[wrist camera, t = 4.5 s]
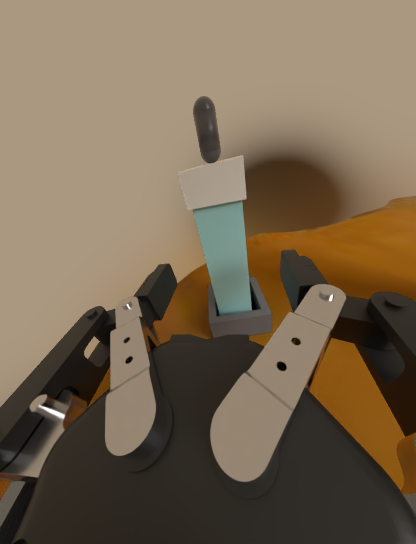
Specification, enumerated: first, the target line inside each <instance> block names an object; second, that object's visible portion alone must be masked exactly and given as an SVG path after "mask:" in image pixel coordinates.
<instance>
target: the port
mask: <svg viewBox="0 0 416 544" xmlns="http://www.w3.org/2000/svg"><path fill="white" fill-rule="evenodd" d="M36 483H37V482H24V481H16V482H11V484H10V486H9V487H8V489H7V491H6V492H5V494H4V496H3V497H2V499H1V500H0V544H12V542H13V539H14V537H15V535H16V533H17V531H18V529H19V527H20V525H21V522H22V520H23V517H24V515H25V513H26V510H27V508H28V505H29V503H30V500H31V497H32V495H33V492H34V489H35V486H36Z"/></svg>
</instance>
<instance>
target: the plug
mask: <svg viewBox="0 0 416 544" xmlns="http://www.w3.org/2000/svg"><path fill="white" fill-rule="evenodd" d="M193 115H194V121H195V126H196V131H197V136H198V142H199V147H200V152H201V156H202V158H203V160H204V161H205V162H207V163H210V164H206V165H203V166H199V167H195V168H191V169H188V170H184V171H181V172H178V173H177V174H178V177H179V181H180V185H181V188H182V192H183V195H184V199H185V203H186V207H187V210H192V209H193V213H194V217H195V221H196V225H197V229H198V232H199V236H200V240H201V244H202V248H203V252H204V256H205V260H206V264H207V267H208V271H209V275H210V279H211V283H212V287H213V291H214V295H215V298H216V302H217V306H218V310H219V314H220V316H223V315H229V314H235V313H241V312H247V311H252V306H251V295H250V284H249V273H248V262H247V251H246V240H245V231H244V230H245V229H244V218H243V207H242V200H243V199H246V186H245V173H244V160H243V156H242V155H241V156H238V157H234V158H229V159H226V160H222V161H218V162H216V161H217V160H218V158H219V157H220V153H221V149H220V141H219V134H218V127H217V120H216V112H215V106H214V103H213V102H212V100H211V99H210V98H208V97H206V96H202V97H200V98H198V99H197V100H196V102H195V104H194V108H193Z"/></svg>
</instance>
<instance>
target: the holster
mask: <svg viewBox="0 0 416 544" xmlns="http://www.w3.org/2000/svg"><path fill="white" fill-rule="evenodd" d="M249 284H250V295H251V298H252V300H253V303H254V306H255V308H256V310H253V311H247V312H241V313H235V314H229V315H223V316H219V311H218V306H217V302H216V298H215V295H214V291H213V287H212V285H208V309H209V325H210V328H211V331H212V335H213V338H216V337H220V336H224V335H228V334H249V336H250V335H256V334H263V333H269V332H272V312H271V310H270V308H269V306H268V304H267V302H266V299H265V297H264V295H263V293H262V291H261V289H260V286H259V284H258V282H257V280H256V278H255V277H249Z"/></svg>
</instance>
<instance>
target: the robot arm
mask: <svg viewBox="0 0 416 544" xmlns="http://www.w3.org/2000/svg"><path fill="white" fill-rule="evenodd" d="M280 274H281V279H282V282H283V285H284V288H285V290H286V293H287V296H288V299H289V301H290V304H291V307H292V310H293V312H292V311H290V312H289V313H288V314H287V316H286V317H285V319H284V320H283V322H282V323H281V324H280V326H279V327H278V329H277V330H276V332H275V333H274V334H273V336H272V337H271V339H270V340H269V342H268V343H267V345H266V346H265V347H264V346H262V345H260V344H257V343H255V342H252V341H249V334H228V335H224V336H220V337H216V338H211V339H204V338H200V337H196V336H193V335H172V336H171V339H170V341H168V342H165V343H163V344H160V341H159V338H158V335H157V332H156V329H155V326H154V324H153V322H154V321H157V320H162V318H163V316H164V313H165V311H166V309H167V307H168V305H169V302H170V300H171V298H172V296H173V293H174V291H175V289H176V287H177V280H176V278H175V275H174V273H173V270H172V268H171V266H170V264H160V265H158V266H157V268H156V269H155V271H154V272H152V273H151V274H150V275H149V276H148V277H147V278H146V280H145V281H144V282H143V285H141V287H140V288H139V289H138V291H137V292H136V293H135V295H134V296H133V297H128V298H126V299H124V300H122V301H121V302H120V303H119V304H118V305H117V306H116V309H113V310H109V311H106V310H105V309H104V308H103V307H102V306H97V307H94V308H92V309H90V310H89V311H87V312H86V313H85V314H84V315H83V316H82V317H81V318H80V319H79V320H78V321H77V322H76V323H75V325H74V326H73V327H72V328H71V329H70V330H69V331H68V332H67V334H66V335H65V336H64V337H63V338H62V339H61V340H60V341H59V342H58V344H57V345H56V346H55V347H54V348H53V349H52V350H51V351H50V353H49V354H48V355H47V356H46V357H45V358H44V359H43V360H42V361H41V363H40V364H39V365H38V366H37V367H36V368H35V369H34V370H33V372H32V373H31V374H30V375H29V376H28V377H27V378H26V380H25V381H24V382H23V383H22V384H21V385H20V386H19V387H18V388H17V389H16V391H15V392H14V393H13V394H12V395H11V396H10V397H9V398H8V400H7V401H6V402H5V403H4V404H3V405H2V406H1V407H0V481H8V482H16V481H24V482H37V483H36V486H35V489H34V492H33V495H32V497H31V500H30V503H29V505H28V508H27V510H26V513H25V515H24V517H23V520H22V522H21V525H20V527H19V529H18V531H17V533H16V535H15V537H14V539H13V542H12V544H416V302H415V301H414V300H412V299H410V298H408V297H406V296H403V295H400V294H397V293H392V292H377V293H374V294H373V295H372V296H371V298H370V300H369V299H362V298H355V297H349V296H346V295H345V293H344V292H343V291H342V290H340V289H339V288H337V287H335V286H332V285H329V284H328V283H327V281H326V280H325V279H324V277H323V276H322V274H321V273H320V272H319V270H318V269H317V267H316V266H315V265H314V263H313V262H312V260H311V259H309V258H307V257H305V256H299V255H298V254H297V252H296V251H295V249H292V250H283V251H281V266H280ZM94 336H95V337H96V338H97V339H98V340H99V341H100V342H99V343H98V345H97V347H96V348H95V350H94V351H93V352H92V354H91V355H90V357H89V358H88V359H87V358H85V356H84V350H85V348H86V346H87V345H88V343H89V342H90V341H91V339H92V338H93V337H94ZM331 338H335V339H339V340H343V341H347V342H351V343H354V344H355V346H356V347H357V349H358V351H359V353H360V355H361V357H362V358H363V360H364V362H365V364H366V366H367V367H368V369H369V371H370V373H371V375H372V377H373V378H374V380H375V382H376V384H377V386H378V388H379V389H380V391H381V393H382V395H383V397H384V398H385V400H386V402H387V404H388V406H389V408H390V409H391V411H392V413H393V415H394V417H395V418H396V420H397V422H398V424H399V426H400V428H401V429H402V431H403V433H404V435H405V438H403V439H401V440H400V441H399V443H398V445H397V455H398V459H399V462H400V464H401V467H402V470H403V474H404V487H403V489H402V491H400V489H399V488H398V487H397V485H396V484H395V483H394V481H393V480H392V479H391V478H390V476H389V475H388V474H387V473H386V472H385V470H384V469H383V468H382V467H381V466H380V465H379V464H378V463H377V462H376V461H375V460H374V459H373V458H372V457H371V456H370V454H369V453H368V452H367V451H366V450H365V449H364V448H363V447H362V446H361V445H360V444H359V443H358V442H357V441H356V440H355V439H354V438H353V437H352V436H351V435H350V433H349V432H348V431H347V430H346V429H345V428H344V427H343V426H342V425H341V424H340V423H339V422H338V421H337V420H336V419H335V418H334V417H333V416H332V415H331V414H330V412H329V411H328V410H327V409H326V408H325V407H324V406H323V405H322V404H321V403H320V402H319V401H318V400H317V399H316V398H315V397H314V396H313V395H312V394H311V392H310V391H309V390H310V388H311V385H312V383H313V381H314V378H315V376H316V373H317V371H318V368H319V366H320V364H321V361H322V359H323V357H324V354H325V352H326V350H327V348H328V345H329V343H330V341H331ZM110 365H111V388H109V389H108V390H107V391H106V392H105V393H104V394H103V395H102V396H101V397H99V398H98V399H97V400H96V401H95V402H94V403H93V404H92V405H91V406H89V407H88V405H89V403H90V401H91V400H92V398H93V396H94V394H95V392H96V390H97V389H98V387H99V385H100V383H101V381H102V379H103V378H104V376H105V374H106V372H107V370H108V369H109V367H110ZM87 407H88V408H87Z"/></svg>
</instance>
